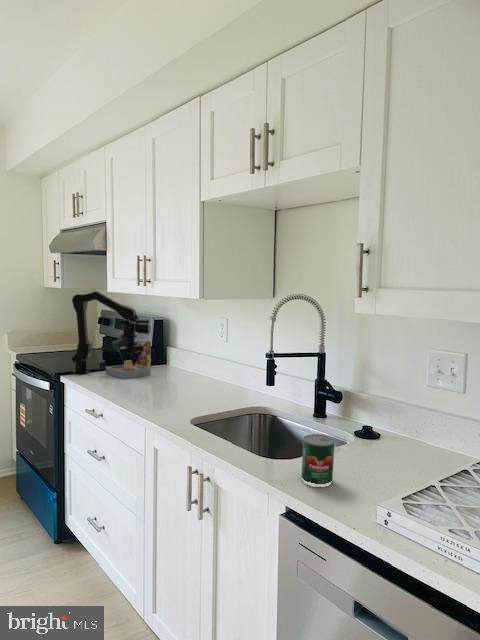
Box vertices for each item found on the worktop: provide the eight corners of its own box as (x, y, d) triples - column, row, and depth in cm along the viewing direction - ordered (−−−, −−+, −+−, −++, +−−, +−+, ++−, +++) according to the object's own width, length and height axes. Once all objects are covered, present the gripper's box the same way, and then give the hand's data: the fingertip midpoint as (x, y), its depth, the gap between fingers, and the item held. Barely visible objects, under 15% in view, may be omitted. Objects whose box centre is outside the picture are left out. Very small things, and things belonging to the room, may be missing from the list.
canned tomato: (312, 490, 115) (314, 446, 114) (295, 477, 122) (297, 436, 121) (338, 485, 119) (341, 442, 118) (320, 472, 126) (322, 432, 125)
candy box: (150, 367, 259) (151, 339, 258) (150, 368, 255) (150, 340, 254) (134, 367, 258) (134, 339, 257) (133, 368, 254) (133, 340, 252)
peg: (122, 374, 239) (122, 360, 238) (129, 373, 242) (129, 359, 241) (126, 375, 236) (126, 361, 235) (133, 374, 239) (133, 361, 238)
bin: (105, 373, 239) (105, 366, 238) (133, 370, 250) (133, 363, 250) (122, 379, 228) (122, 372, 227) (150, 375, 239) (150, 368, 239)
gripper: (104, 331, 238) (104, 362, 239) (124, 336, 225) (124, 368, 226) (124, 330, 246) (123, 360, 247) (144, 334, 233) (144, 365, 234)
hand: (128, 363), depth 238 cm, fingers open, 9 cm apart
